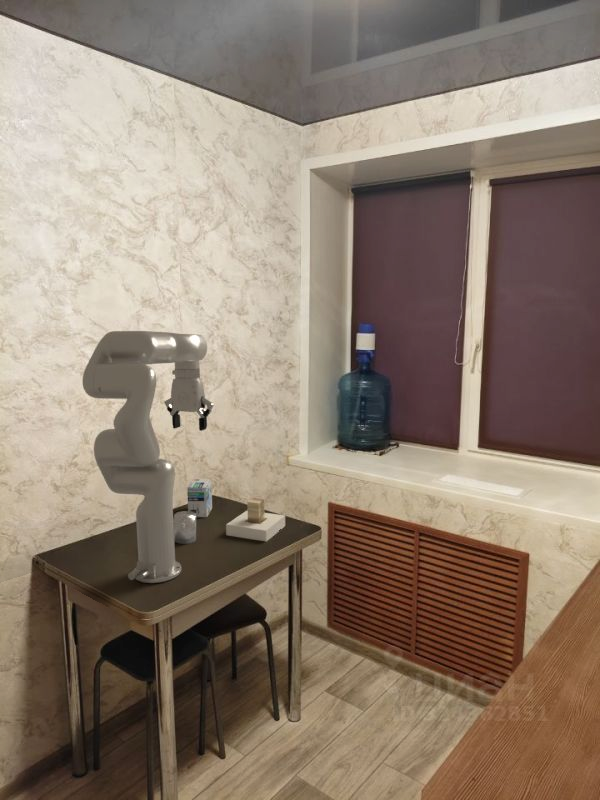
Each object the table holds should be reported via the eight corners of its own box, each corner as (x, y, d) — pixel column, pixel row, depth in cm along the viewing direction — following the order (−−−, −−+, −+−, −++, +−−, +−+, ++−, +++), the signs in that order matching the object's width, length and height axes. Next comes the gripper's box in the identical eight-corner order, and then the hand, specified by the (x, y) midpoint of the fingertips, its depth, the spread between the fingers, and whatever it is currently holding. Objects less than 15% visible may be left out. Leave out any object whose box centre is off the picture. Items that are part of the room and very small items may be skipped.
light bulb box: (207, 517, 198) (206, 487, 196) (187, 517, 198) (186, 487, 197) (212, 507, 209) (211, 478, 207) (194, 507, 209) (192, 478, 207)
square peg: (259, 533, 184) (258, 503, 182) (248, 531, 185) (247, 501, 184) (264, 529, 187) (264, 499, 186) (253, 527, 189) (253, 497, 187)
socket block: (266, 541, 177) (266, 530, 177) (226, 535, 182) (226, 524, 182) (285, 525, 190) (285, 515, 189) (247, 520, 195) (247, 510, 195)
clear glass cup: (191, 544, 175) (191, 519, 174) (170, 542, 176) (170, 517, 175) (198, 536, 182) (199, 512, 181) (178, 534, 183) (178, 510, 182)
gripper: (156, 374, 179) (159, 429, 182) (205, 376, 173) (207, 433, 175) (171, 372, 186) (173, 424, 189) (218, 374, 179) (219, 428, 182)
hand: (189, 428), depth 182 cm, fingers open, 9 cm apart
